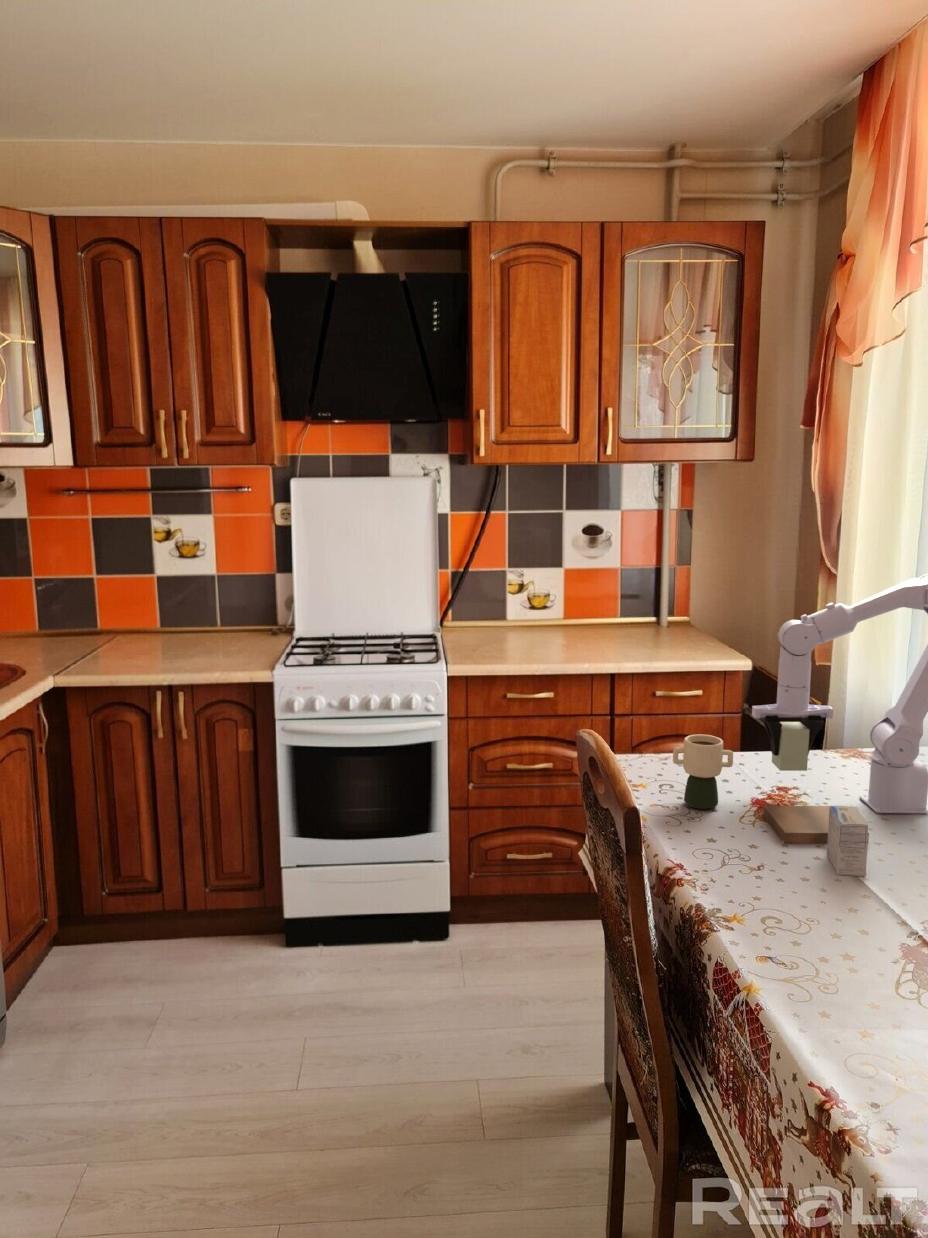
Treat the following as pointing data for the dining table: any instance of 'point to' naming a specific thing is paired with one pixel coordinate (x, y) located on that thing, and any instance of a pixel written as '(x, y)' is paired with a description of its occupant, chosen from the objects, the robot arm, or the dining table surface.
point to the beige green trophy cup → (702, 768)
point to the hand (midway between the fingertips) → (789, 753)
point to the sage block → (792, 747)
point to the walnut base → (799, 823)
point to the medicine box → (847, 840)
